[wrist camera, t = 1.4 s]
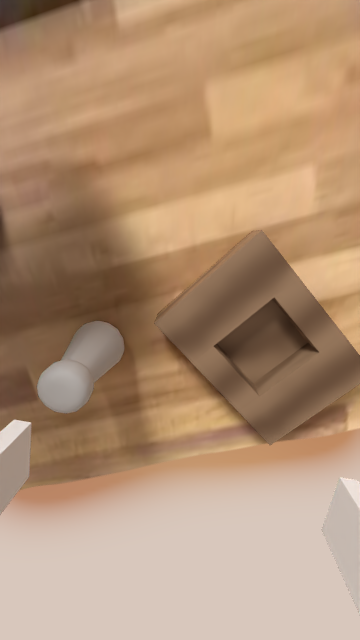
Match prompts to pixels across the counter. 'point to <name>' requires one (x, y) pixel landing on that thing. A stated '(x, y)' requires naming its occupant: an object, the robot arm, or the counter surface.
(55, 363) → the salt shaker
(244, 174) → the counter surface
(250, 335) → the stand
